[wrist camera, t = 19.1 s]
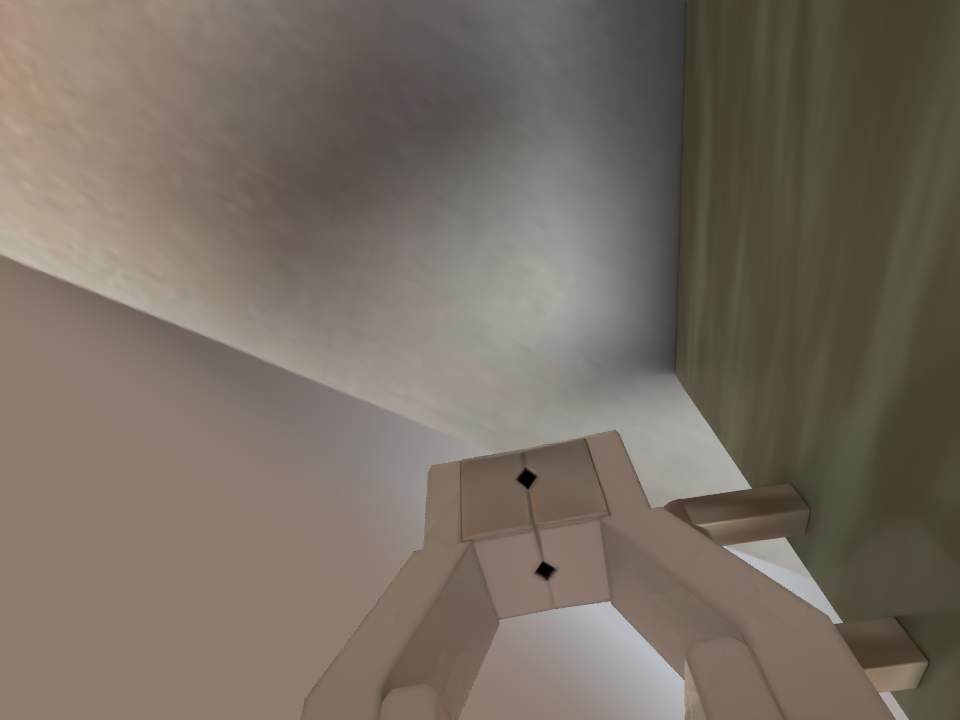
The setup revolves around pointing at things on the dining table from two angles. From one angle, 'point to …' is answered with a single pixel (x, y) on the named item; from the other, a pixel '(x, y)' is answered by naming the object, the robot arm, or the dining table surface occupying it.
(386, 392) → the dining table surface
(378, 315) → the dining table surface
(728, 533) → the door
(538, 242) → the dining table surface
